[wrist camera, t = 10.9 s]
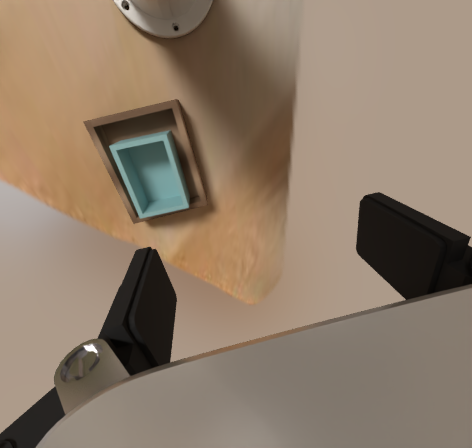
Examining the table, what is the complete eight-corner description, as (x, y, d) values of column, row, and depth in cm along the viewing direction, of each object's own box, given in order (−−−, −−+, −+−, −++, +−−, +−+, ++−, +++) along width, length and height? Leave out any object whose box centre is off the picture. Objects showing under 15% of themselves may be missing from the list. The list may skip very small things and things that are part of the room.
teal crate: (121, 140, 32) (108, 146, 28) (170, 130, 32) (166, 134, 28) (146, 204, 37) (140, 218, 32) (190, 195, 37) (188, 207, 33)
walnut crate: (94, 119, 31) (83, 121, 28) (178, 99, 31) (175, 99, 28) (138, 214, 38) (133, 223, 35) (206, 196, 38) (207, 204, 35)
